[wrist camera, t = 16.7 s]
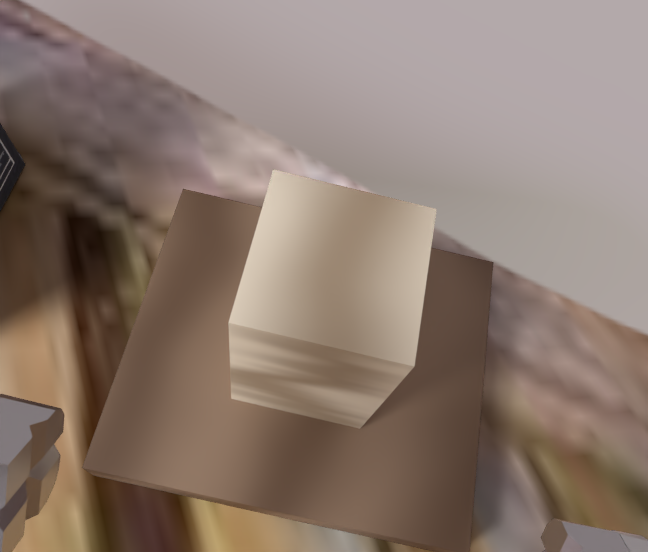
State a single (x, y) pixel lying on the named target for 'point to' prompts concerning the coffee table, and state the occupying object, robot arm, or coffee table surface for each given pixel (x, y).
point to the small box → (8, 166)
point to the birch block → (329, 300)
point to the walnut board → (289, 428)
